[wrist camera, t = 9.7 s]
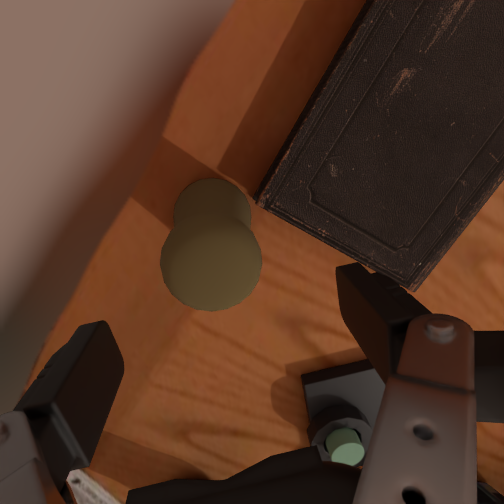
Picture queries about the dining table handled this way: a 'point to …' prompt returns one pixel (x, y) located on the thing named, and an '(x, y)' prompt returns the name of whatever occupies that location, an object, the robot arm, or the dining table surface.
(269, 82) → the dining table surface
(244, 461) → the dining table surface
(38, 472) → the robot arm
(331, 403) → the dark grey button base
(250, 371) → the dining table surface
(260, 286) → the dining table surface
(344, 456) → the tare button
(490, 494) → the decorative bowl
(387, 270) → the hardcover book
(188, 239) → the cork
